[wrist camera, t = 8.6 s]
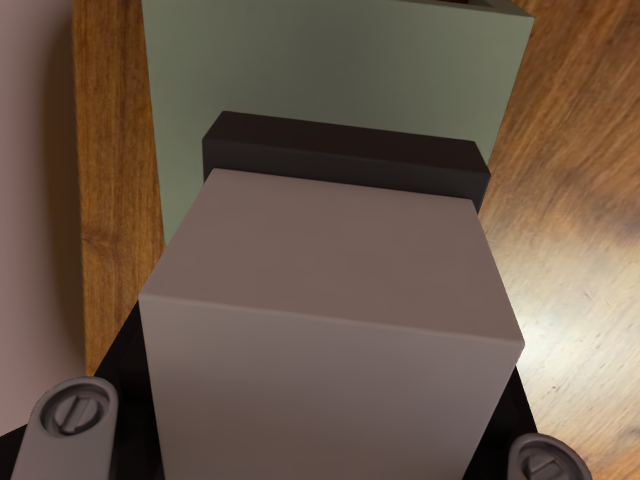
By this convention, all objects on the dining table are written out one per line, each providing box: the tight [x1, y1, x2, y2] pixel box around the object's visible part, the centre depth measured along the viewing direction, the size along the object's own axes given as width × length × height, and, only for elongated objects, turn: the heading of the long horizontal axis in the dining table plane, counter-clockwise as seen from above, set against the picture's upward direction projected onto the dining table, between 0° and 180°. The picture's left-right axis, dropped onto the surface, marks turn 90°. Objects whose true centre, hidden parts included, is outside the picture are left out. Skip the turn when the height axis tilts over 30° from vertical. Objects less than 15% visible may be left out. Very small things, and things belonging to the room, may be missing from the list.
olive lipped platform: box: [142, 0, 535, 249], centre depth 22 cm, size 16×14×11 cm
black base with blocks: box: [138, 111, 525, 480], centre depth 11 cm, size 12×5×5 cm, turn 174°
